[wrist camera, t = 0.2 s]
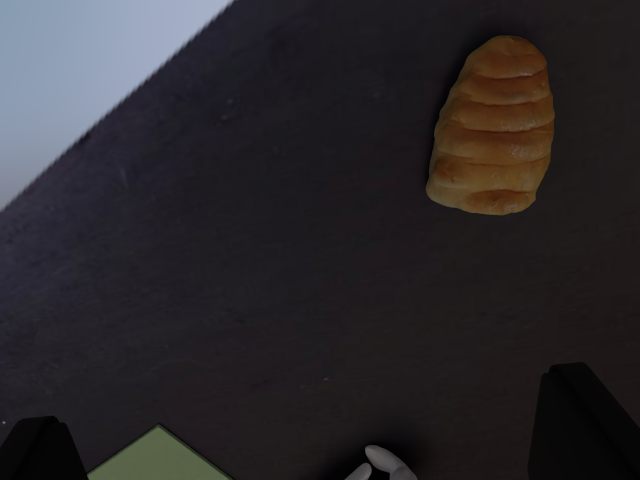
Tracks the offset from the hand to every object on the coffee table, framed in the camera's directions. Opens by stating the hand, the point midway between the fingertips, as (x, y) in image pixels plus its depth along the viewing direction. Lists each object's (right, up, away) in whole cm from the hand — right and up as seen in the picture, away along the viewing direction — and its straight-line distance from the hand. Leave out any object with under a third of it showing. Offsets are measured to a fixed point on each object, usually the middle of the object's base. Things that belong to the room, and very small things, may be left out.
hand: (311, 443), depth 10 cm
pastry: (+9, +10, +19) cm, 24 cm away
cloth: (-12, -15, +30) cm, 35 cm away
